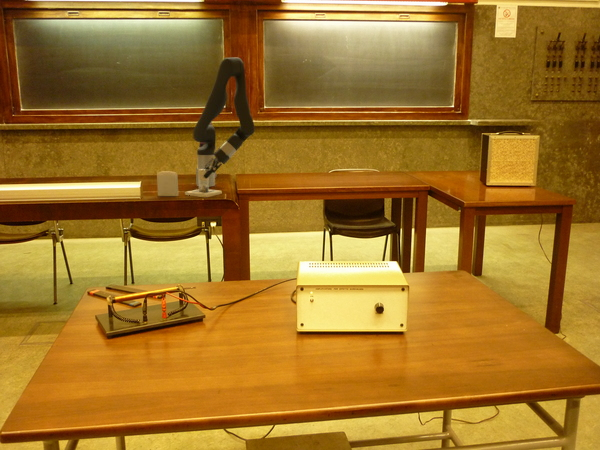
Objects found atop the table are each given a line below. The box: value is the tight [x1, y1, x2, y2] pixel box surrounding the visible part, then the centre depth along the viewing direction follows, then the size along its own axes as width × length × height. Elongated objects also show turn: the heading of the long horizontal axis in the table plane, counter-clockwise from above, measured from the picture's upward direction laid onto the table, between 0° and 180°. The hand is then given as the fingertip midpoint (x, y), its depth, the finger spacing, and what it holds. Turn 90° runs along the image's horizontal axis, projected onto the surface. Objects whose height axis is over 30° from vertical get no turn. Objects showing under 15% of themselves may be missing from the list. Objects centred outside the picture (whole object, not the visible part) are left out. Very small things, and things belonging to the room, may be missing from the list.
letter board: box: [184, 188, 223, 198], centre depth 294 cm, size 13×13×2 cm
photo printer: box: [156, 170, 179, 197], centre depth 287 cm, size 10×4×12 cm, turn 86°
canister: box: [198, 169, 210, 192], centre depth 293 cm, size 5×5×11 cm
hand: (203, 176), depth 292 cm, fingers open, 8 cm apart
